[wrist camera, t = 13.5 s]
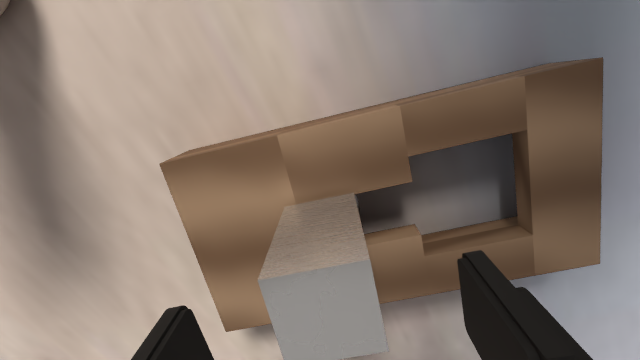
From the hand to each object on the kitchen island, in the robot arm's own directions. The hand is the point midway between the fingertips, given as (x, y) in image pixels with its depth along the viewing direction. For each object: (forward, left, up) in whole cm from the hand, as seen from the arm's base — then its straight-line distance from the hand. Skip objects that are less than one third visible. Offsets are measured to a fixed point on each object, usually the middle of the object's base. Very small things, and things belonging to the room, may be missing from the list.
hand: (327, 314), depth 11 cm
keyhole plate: (+1, +3, -12) cm, 13 cm away
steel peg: (+1, 0, -12) cm, 12 cm away
